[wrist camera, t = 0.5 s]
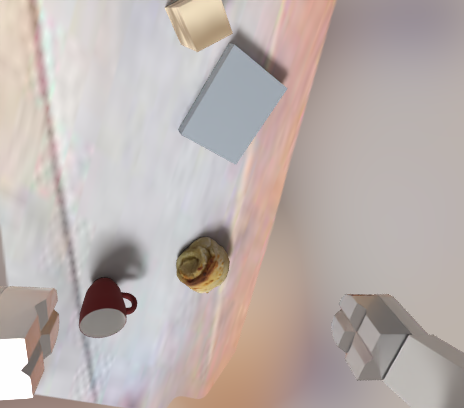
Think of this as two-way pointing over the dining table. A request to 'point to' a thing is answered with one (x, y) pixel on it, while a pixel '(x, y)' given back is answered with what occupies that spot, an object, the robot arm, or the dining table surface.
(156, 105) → the dining table surface
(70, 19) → the dining table surface
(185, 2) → the maple block
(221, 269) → the pastry
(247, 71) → the base plate
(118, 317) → the mug
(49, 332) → the robot arm
